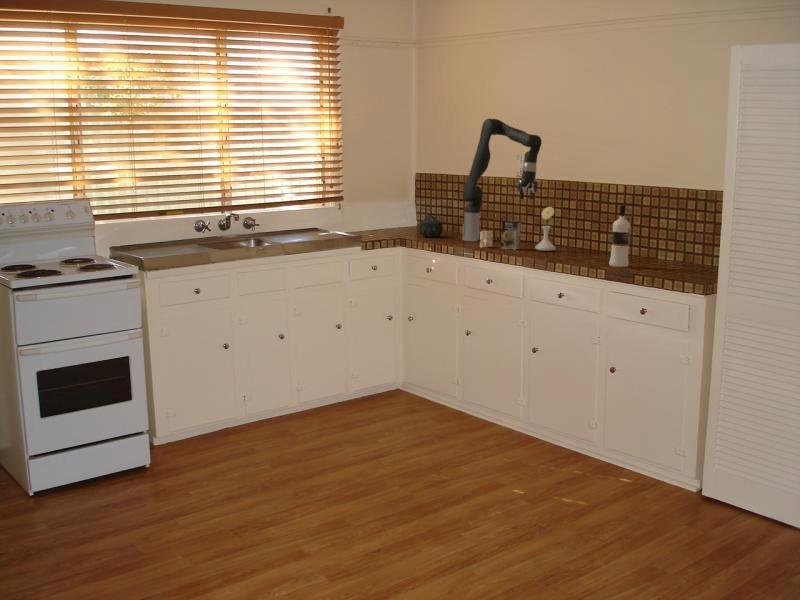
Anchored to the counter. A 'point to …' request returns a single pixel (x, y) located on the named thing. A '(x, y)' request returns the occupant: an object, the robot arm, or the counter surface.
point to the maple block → (486, 238)
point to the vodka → (620, 241)
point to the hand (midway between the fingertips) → (526, 199)
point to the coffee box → (510, 234)
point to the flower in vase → (546, 231)
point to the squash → (430, 227)
